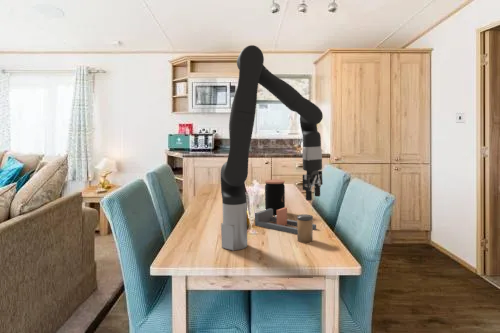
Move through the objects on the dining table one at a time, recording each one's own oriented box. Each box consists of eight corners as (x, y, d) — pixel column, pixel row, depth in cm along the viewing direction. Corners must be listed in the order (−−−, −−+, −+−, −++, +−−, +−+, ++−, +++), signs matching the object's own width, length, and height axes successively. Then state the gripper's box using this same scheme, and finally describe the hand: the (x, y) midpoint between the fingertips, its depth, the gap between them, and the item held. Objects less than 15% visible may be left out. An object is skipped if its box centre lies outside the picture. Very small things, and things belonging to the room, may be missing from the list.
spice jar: (307, 244, 125) (307, 219, 124) (294, 240, 129) (294, 216, 128) (315, 239, 130) (315, 215, 129) (302, 237, 134) (302, 213, 133)
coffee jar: (285, 215, 170) (285, 182, 168) (265, 215, 170) (265, 182, 168) (283, 210, 180) (283, 179, 179) (265, 211, 180) (264, 179, 179)
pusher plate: (287, 224, 152) (287, 207, 151) (278, 227, 146) (278, 210, 146) (279, 222, 154) (279, 206, 154) (271, 226, 149) (271, 209, 148)
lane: (316, 228, 145) (316, 215, 144) (302, 235, 136) (302, 221, 135) (269, 220, 161) (269, 208, 161) (255, 225, 152) (254, 213, 152)
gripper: (310, 156, 134) (311, 194, 136) (295, 159, 123) (297, 201, 124) (327, 156, 130) (328, 195, 132) (313, 159, 118) (315, 202, 120)
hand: (313, 198), depth 128 cm, fingers open, 8 cm apart
